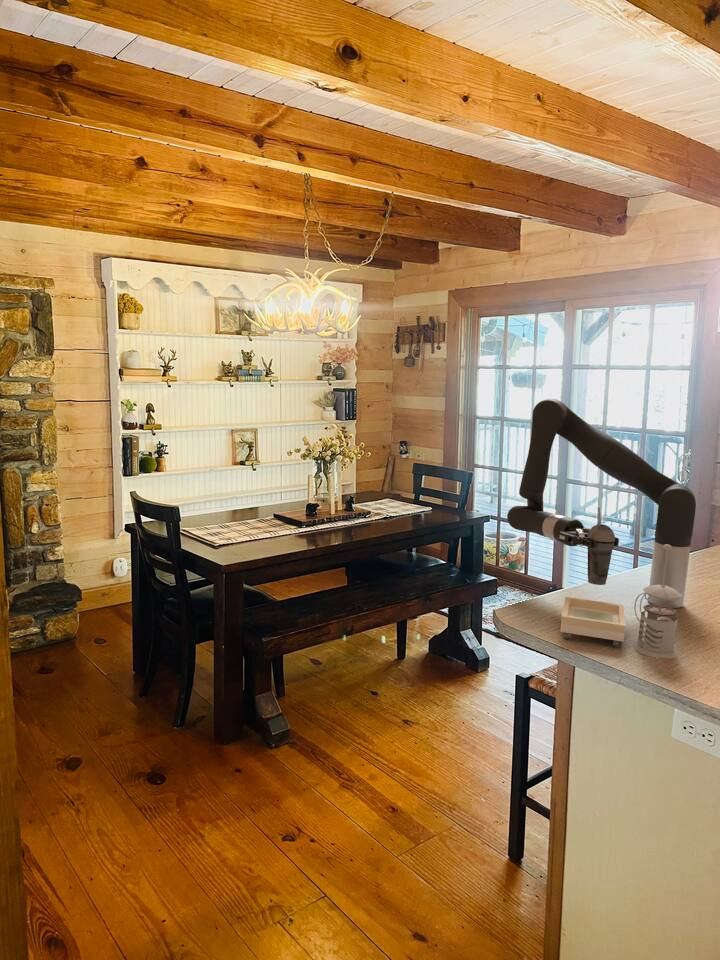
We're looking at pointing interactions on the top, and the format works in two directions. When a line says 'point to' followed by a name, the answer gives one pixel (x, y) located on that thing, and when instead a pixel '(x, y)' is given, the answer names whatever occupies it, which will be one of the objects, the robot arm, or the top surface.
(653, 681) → the top surface
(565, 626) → the caster cart
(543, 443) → the robot arm
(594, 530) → the beverage cup
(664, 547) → the french press
